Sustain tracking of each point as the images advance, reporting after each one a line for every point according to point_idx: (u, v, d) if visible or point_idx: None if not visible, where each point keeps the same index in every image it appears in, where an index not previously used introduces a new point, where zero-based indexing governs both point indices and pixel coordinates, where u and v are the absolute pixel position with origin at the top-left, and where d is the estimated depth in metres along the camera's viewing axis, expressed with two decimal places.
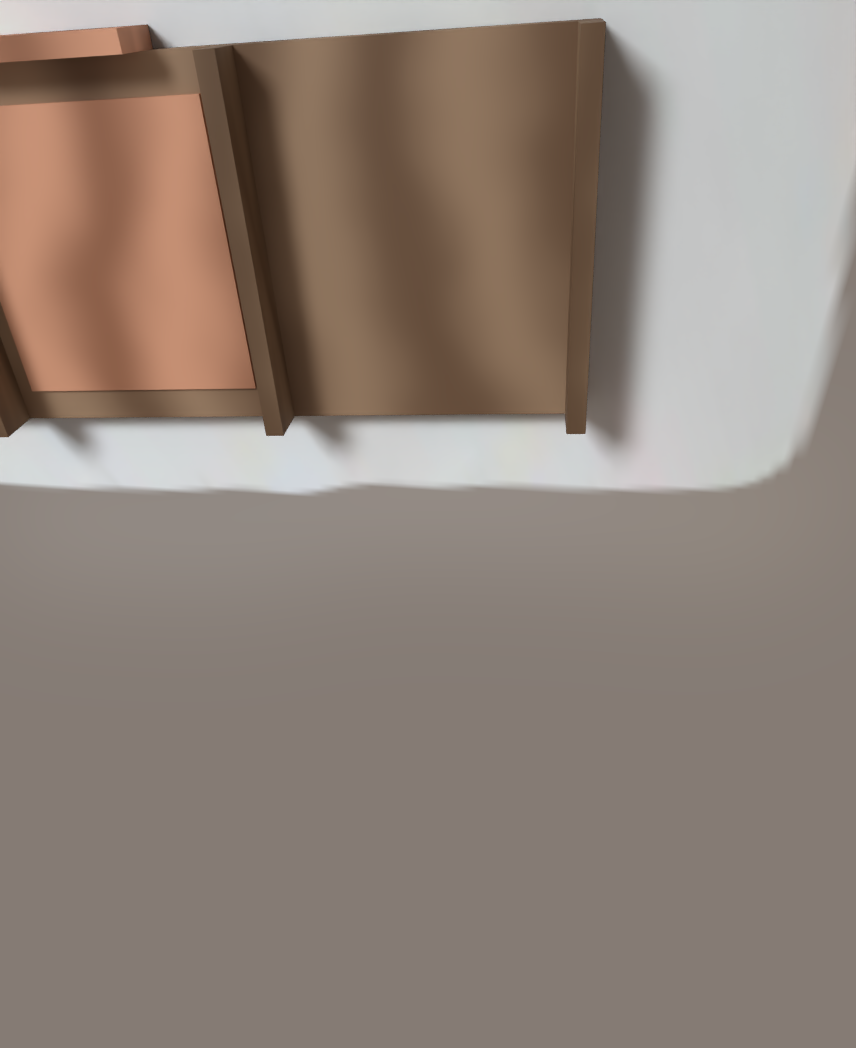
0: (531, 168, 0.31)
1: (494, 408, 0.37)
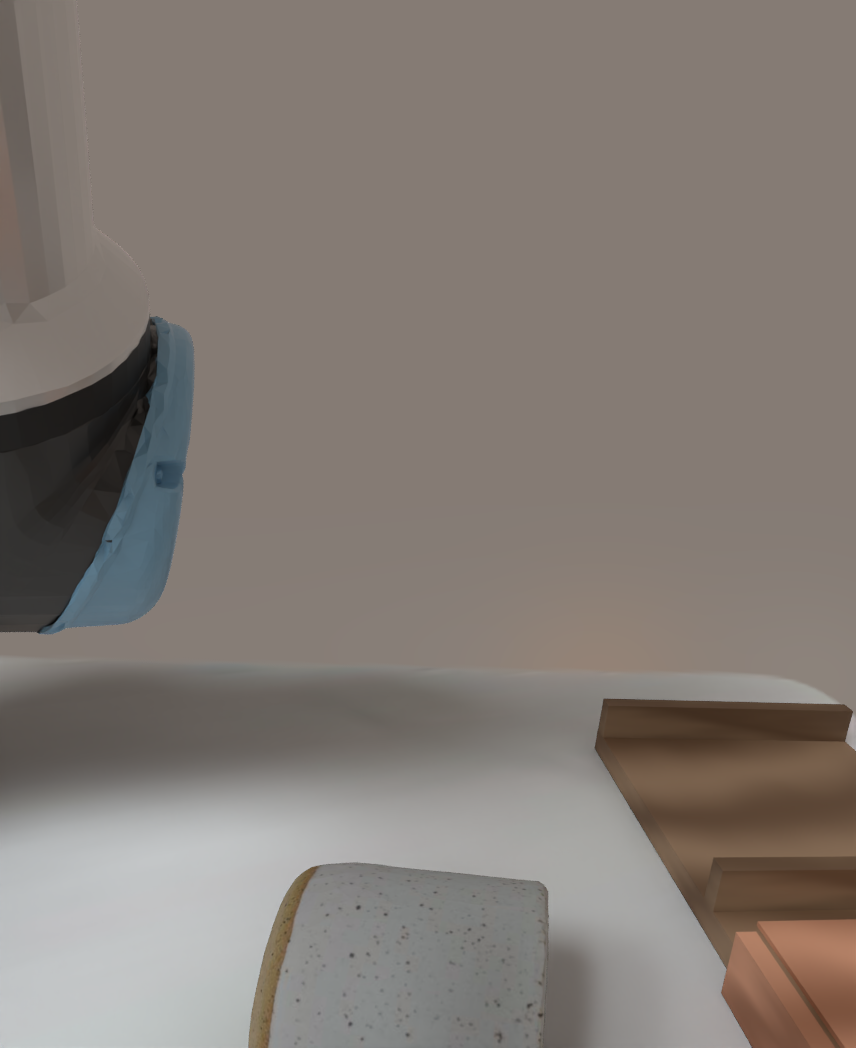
0: (693, 754, 0.45)
1: None
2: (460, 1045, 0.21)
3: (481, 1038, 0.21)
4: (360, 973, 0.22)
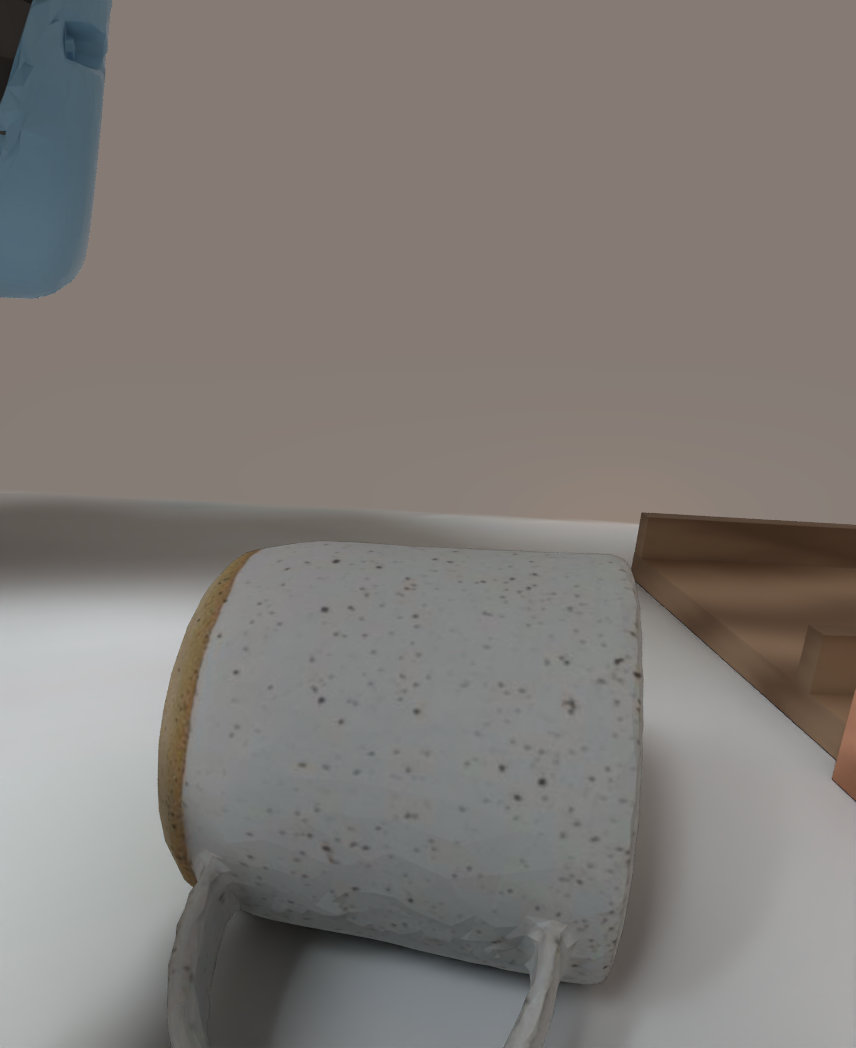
0: (750, 573, 0.37)
1: None
2: (505, 721, 0.12)
3: (539, 709, 0.12)
4: (338, 632, 0.13)
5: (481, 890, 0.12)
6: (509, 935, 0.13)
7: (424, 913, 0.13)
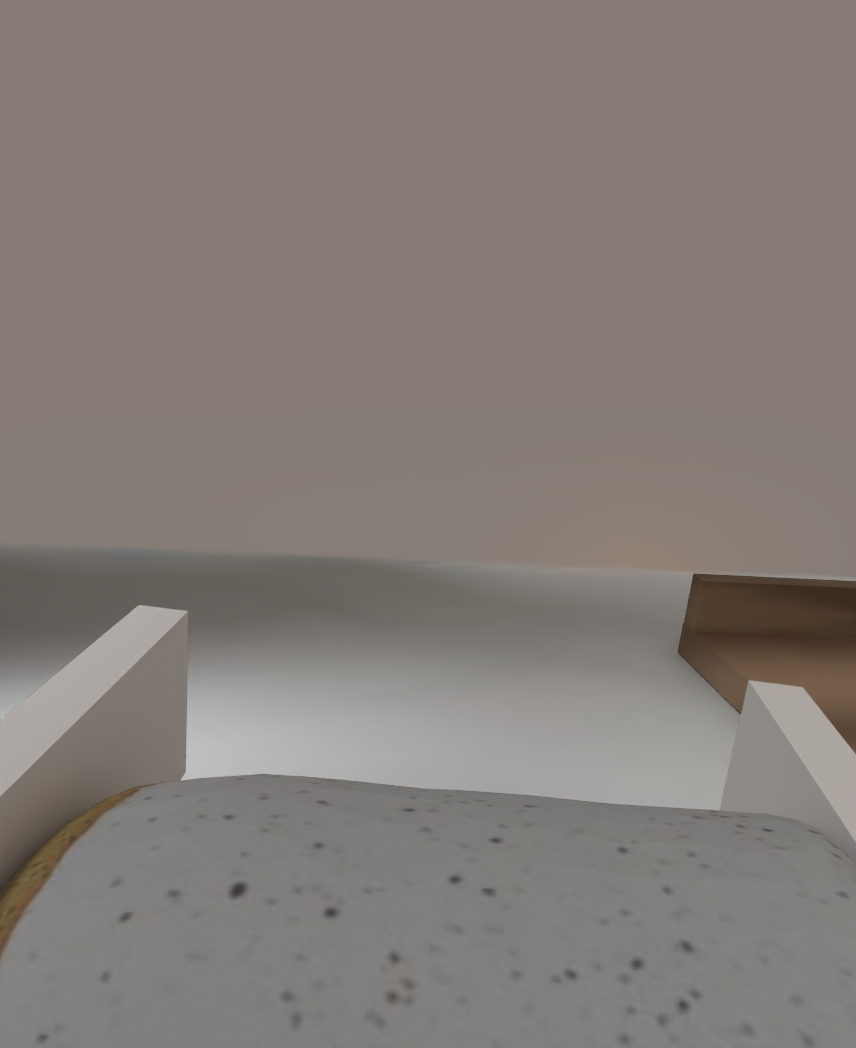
0: (833, 653, 0.29)
1: None
2: None
3: None
4: None
5: None
6: None
7: None
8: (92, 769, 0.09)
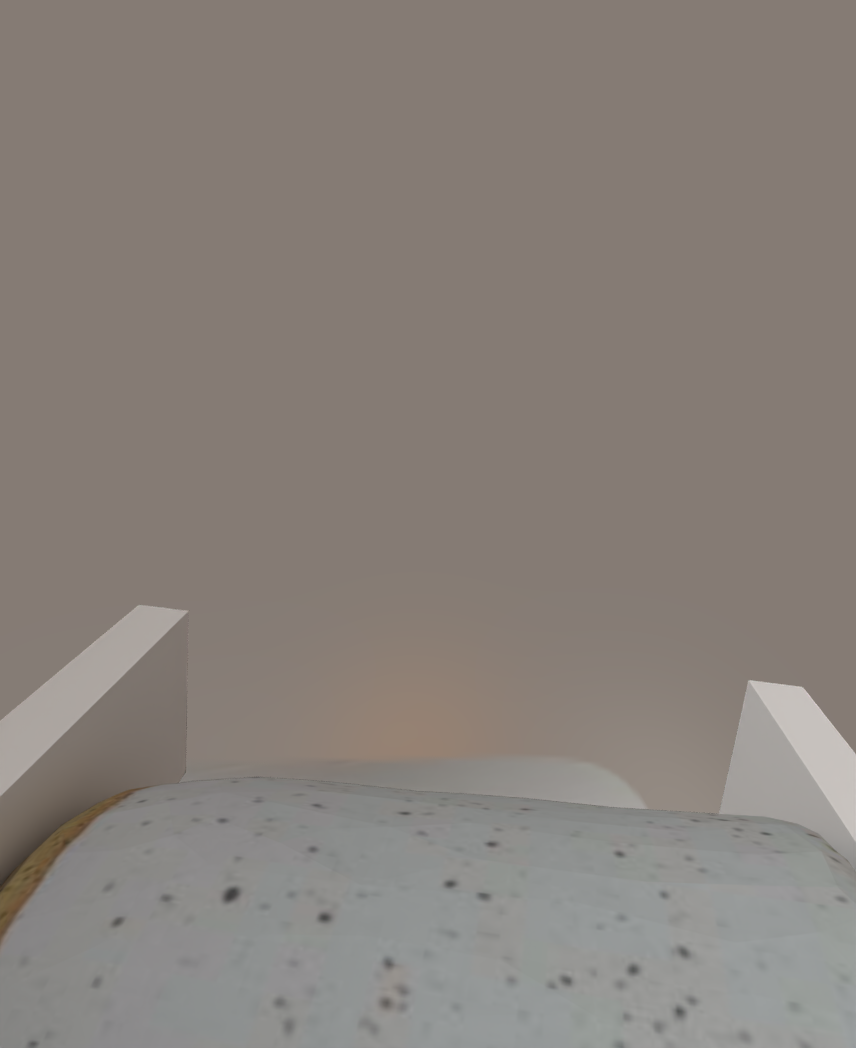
0: None
1: None
2: None
3: None
4: None
5: None
6: None
7: None
8: (92, 769, 0.09)
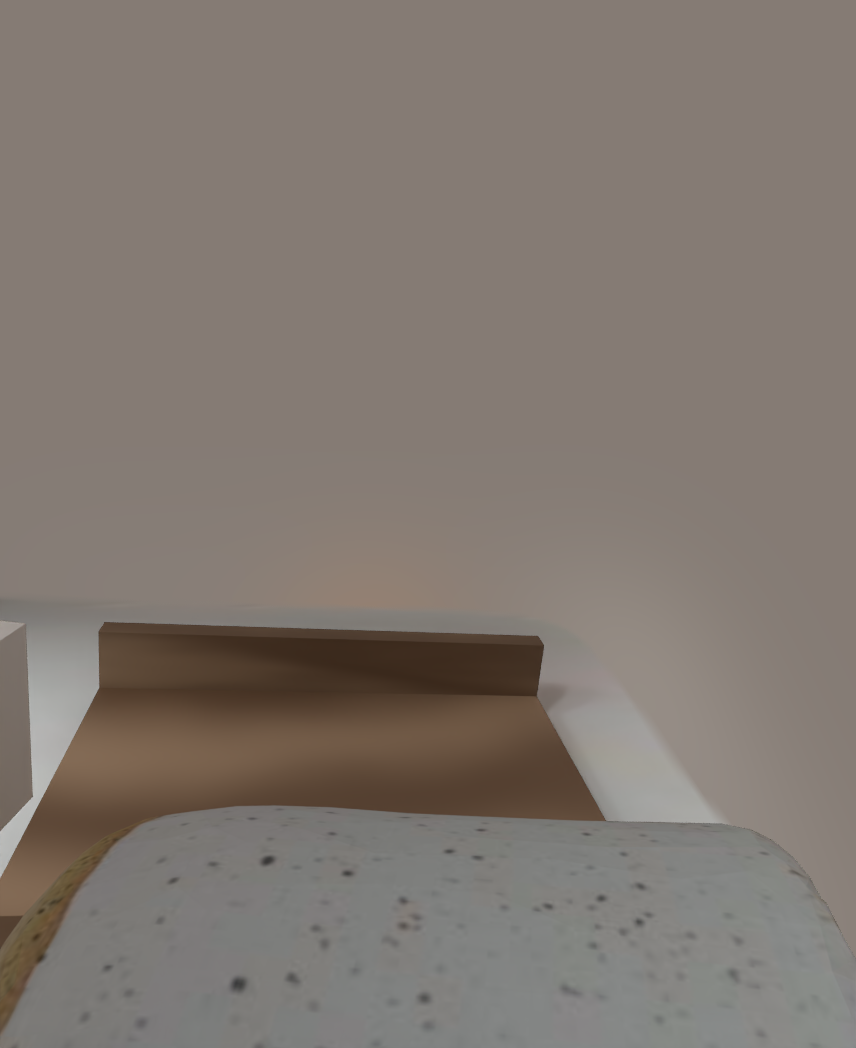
0: (240, 713, 0.26)
1: (554, 742, 0.26)
2: None
3: None
4: (264, 1043, 0.06)
5: None
6: None
7: None
8: None
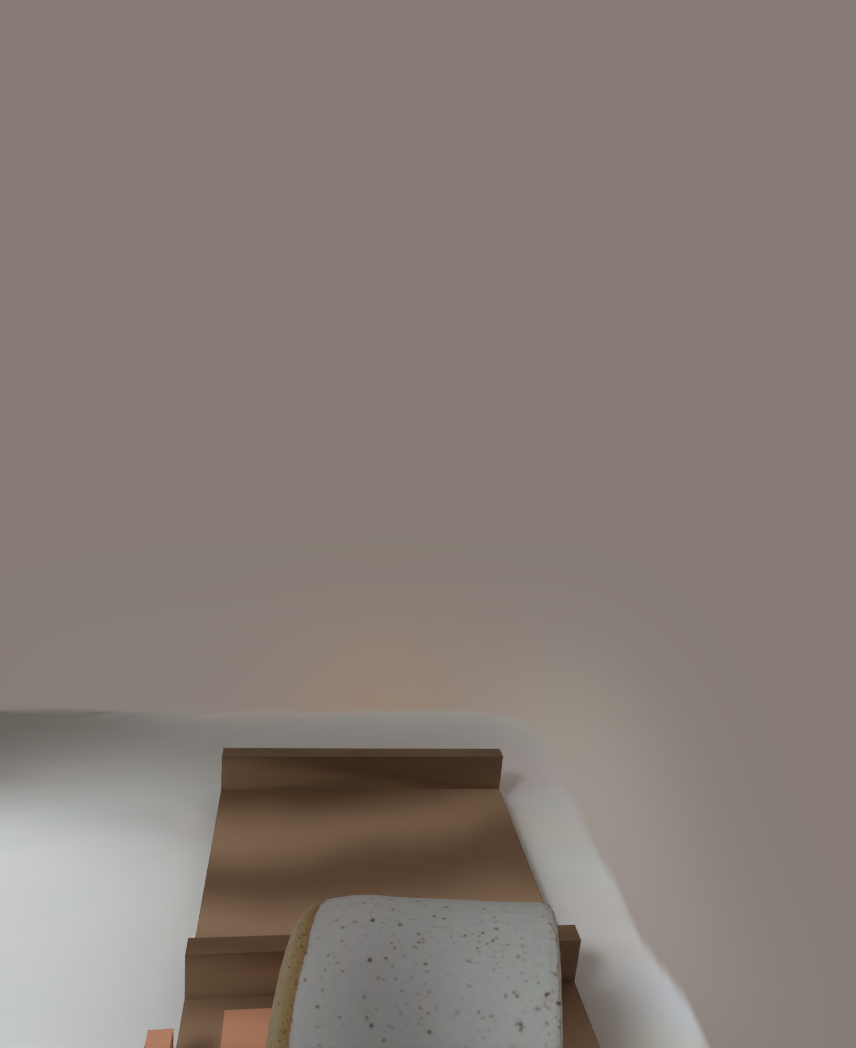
0: (311, 807, 0.42)
1: (507, 823, 0.42)
2: (482, 1038, 0.21)
3: (502, 1029, 0.21)
4: (379, 976, 0.22)
5: None
6: None
7: None
8: None
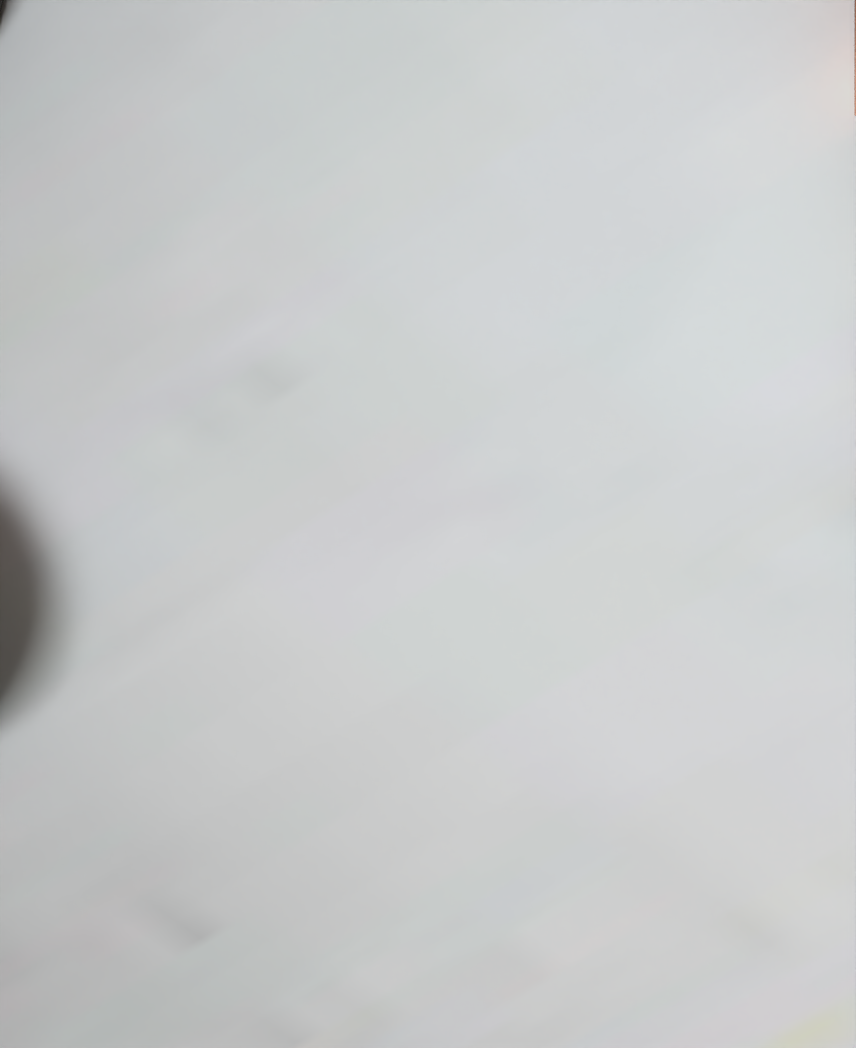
0: None
1: None
2: None
3: None
4: None
5: None
6: None
7: None
8: None
